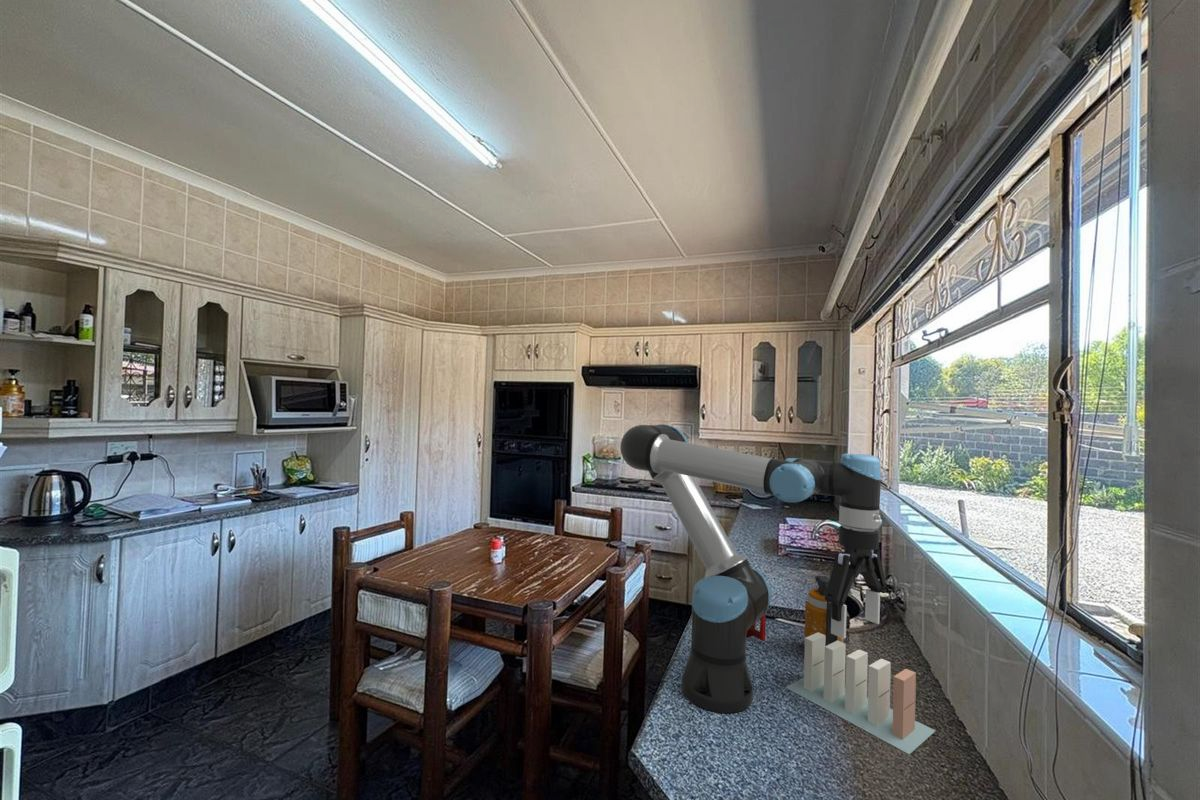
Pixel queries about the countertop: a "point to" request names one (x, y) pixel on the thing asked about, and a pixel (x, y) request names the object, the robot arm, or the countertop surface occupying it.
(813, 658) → the domino
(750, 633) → the mug
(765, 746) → the countertop surface
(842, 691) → the domino
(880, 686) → the domino
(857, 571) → the robot arm
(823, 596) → the canister
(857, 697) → the domino
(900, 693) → the end domino
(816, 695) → the mat
